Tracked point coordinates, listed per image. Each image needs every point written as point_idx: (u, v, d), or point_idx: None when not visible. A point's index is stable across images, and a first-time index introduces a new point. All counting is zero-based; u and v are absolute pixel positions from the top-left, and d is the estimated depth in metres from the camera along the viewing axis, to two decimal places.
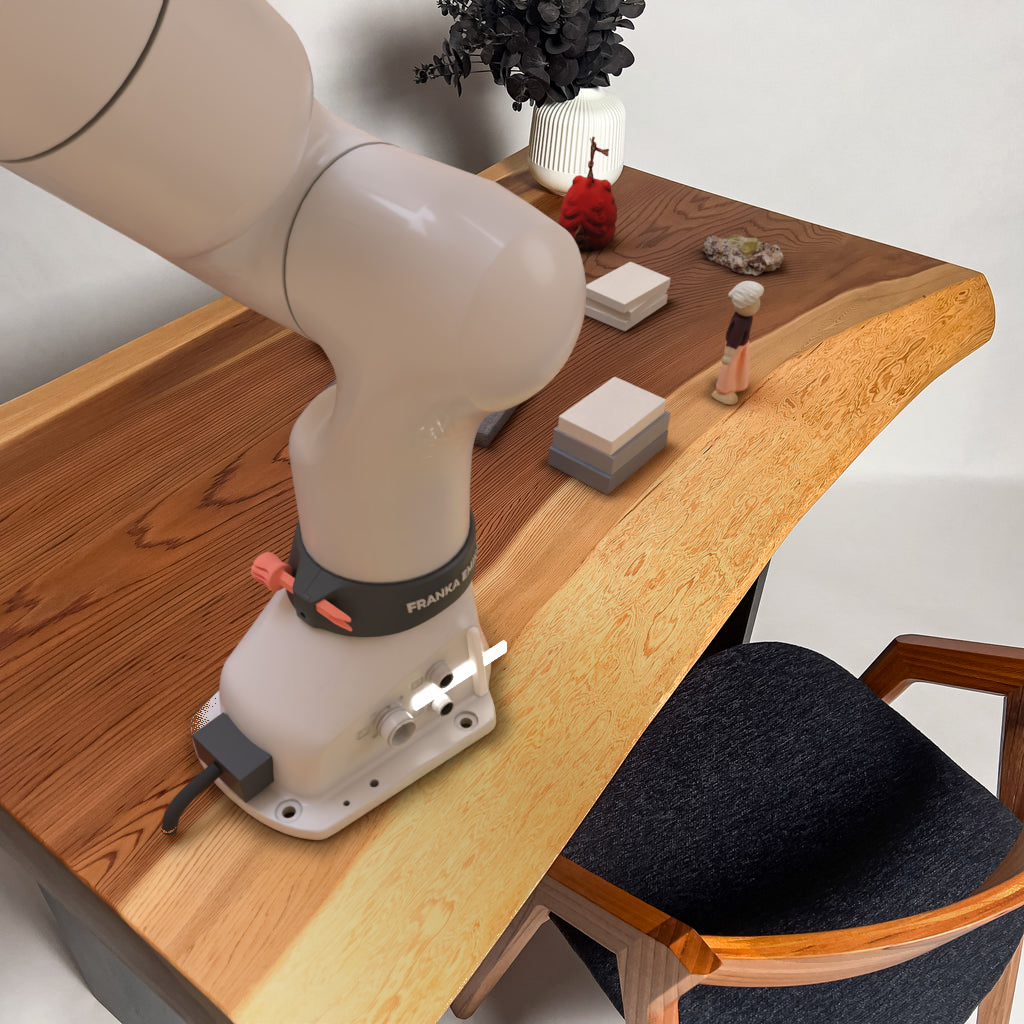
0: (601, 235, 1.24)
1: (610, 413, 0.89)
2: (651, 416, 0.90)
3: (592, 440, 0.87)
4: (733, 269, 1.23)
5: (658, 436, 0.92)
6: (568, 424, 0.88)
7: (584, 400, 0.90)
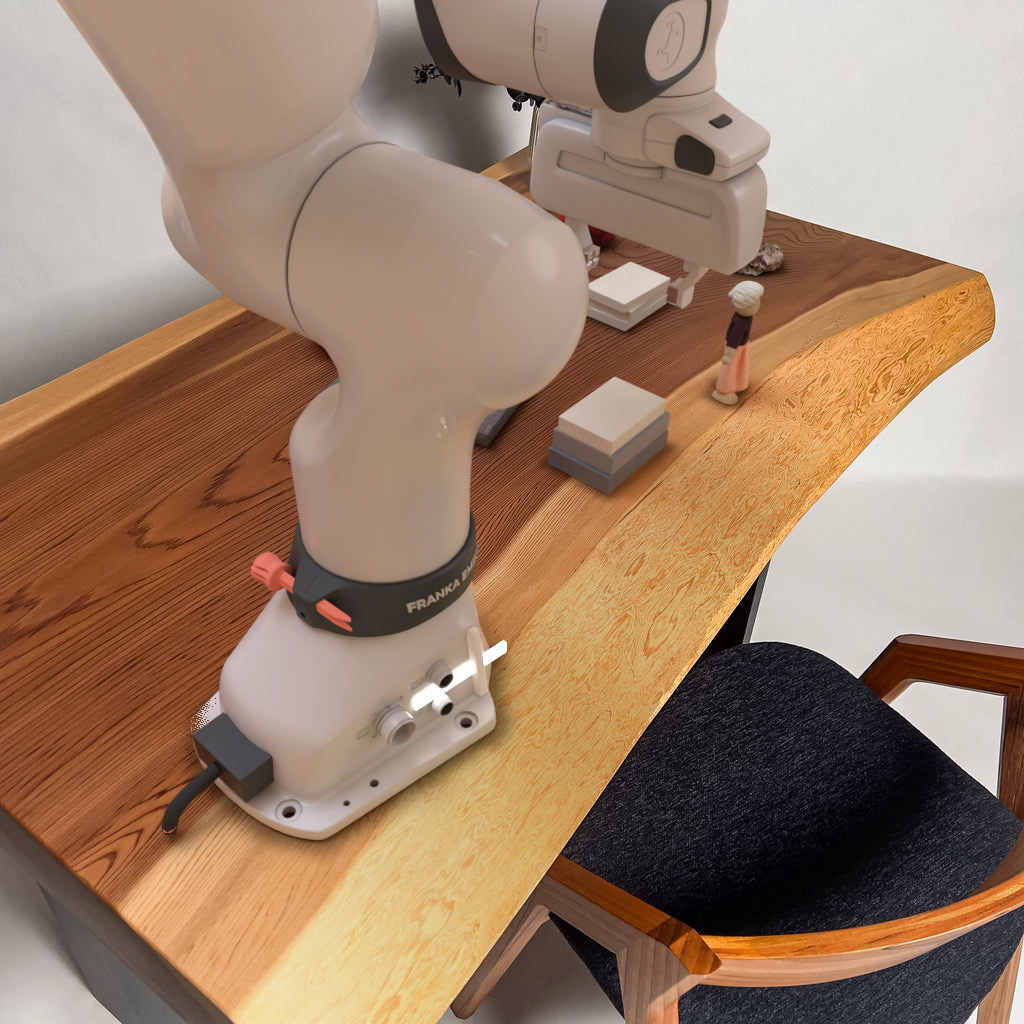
0: (601, 235, 1.24)
1: (610, 413, 0.89)
2: (651, 416, 0.90)
3: (592, 440, 0.87)
4: None
5: (658, 436, 0.92)
6: (568, 424, 0.88)
7: (584, 400, 0.90)
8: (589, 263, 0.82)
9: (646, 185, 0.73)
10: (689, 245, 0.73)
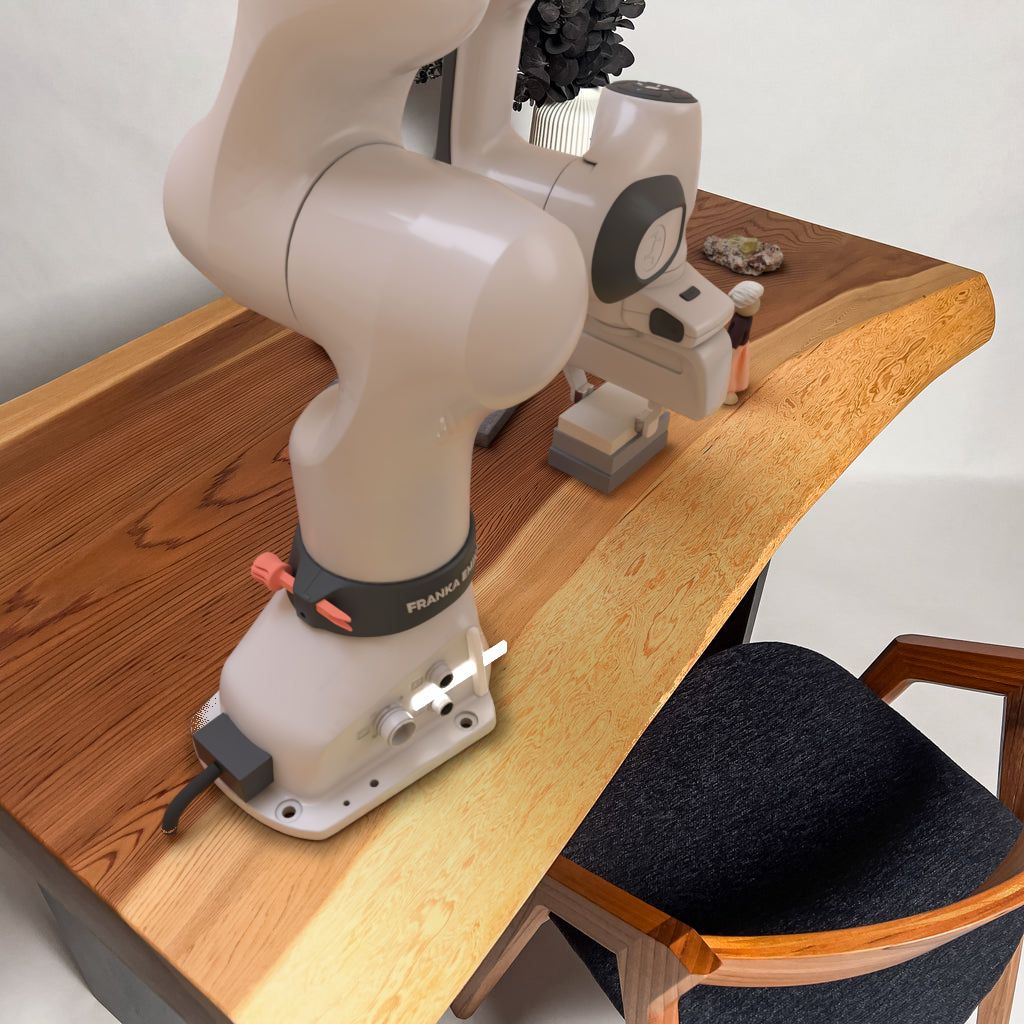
0: None
1: (610, 413, 0.89)
2: None
3: (592, 440, 0.87)
4: (733, 269, 1.23)
5: (658, 436, 0.92)
6: (568, 424, 0.88)
7: (584, 400, 0.90)
8: None
9: (625, 340, 0.83)
10: (663, 394, 0.82)
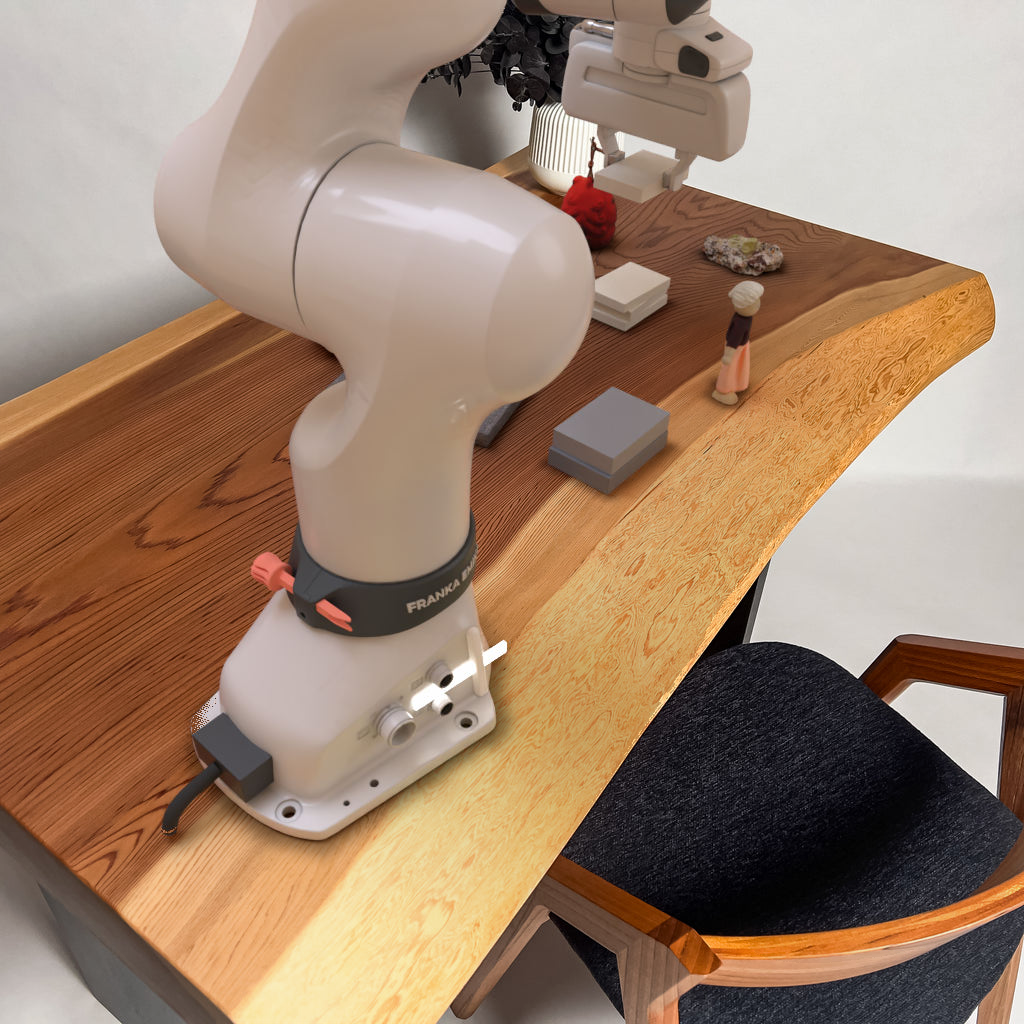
0: (601, 235, 1.24)
1: (640, 171, 0.99)
2: None
3: (624, 191, 0.97)
4: (733, 269, 1.23)
5: (658, 436, 0.92)
6: (603, 179, 0.98)
7: (616, 163, 1.01)
8: None
9: (655, 91, 0.93)
10: (689, 138, 0.93)
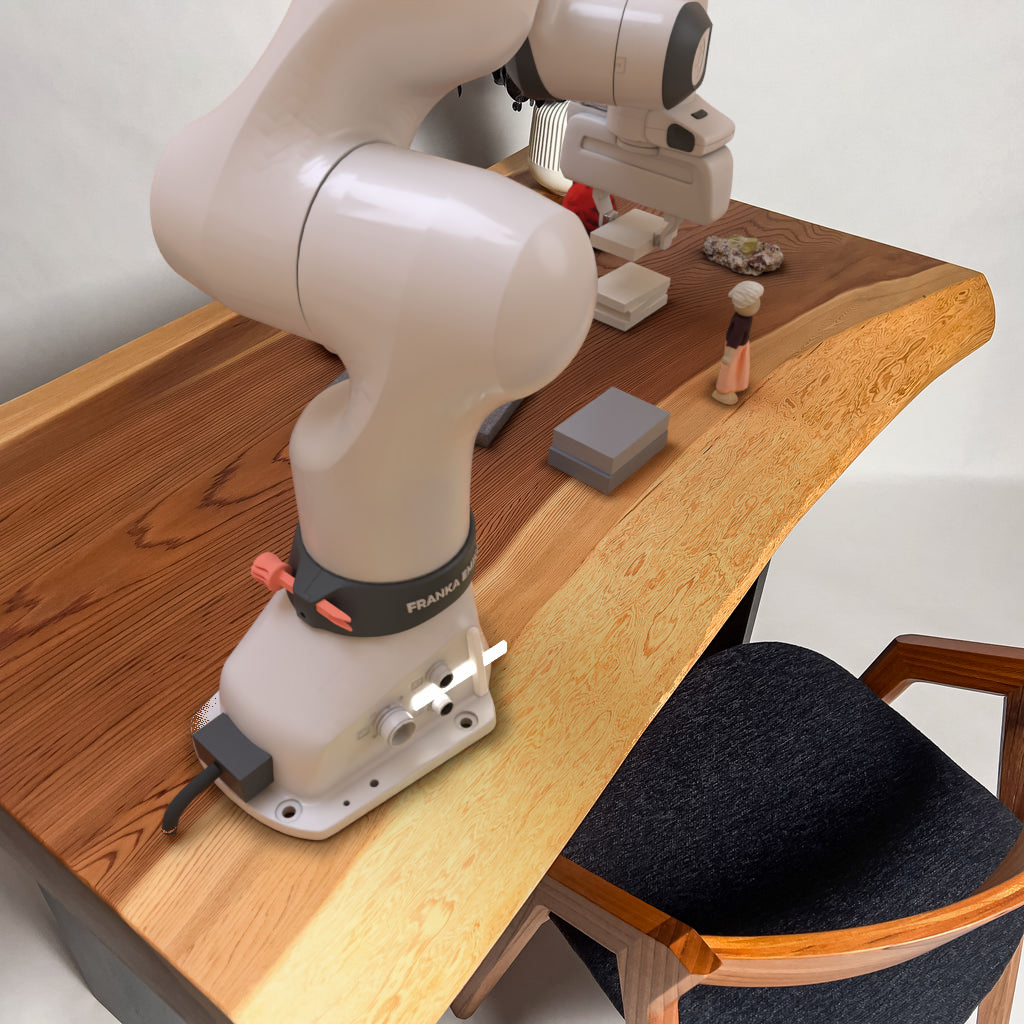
0: None
1: (632, 231, 1.07)
2: None
3: (618, 250, 1.06)
4: (733, 269, 1.23)
5: (658, 436, 0.92)
6: (598, 238, 1.07)
7: (610, 223, 1.09)
8: None
9: (646, 161, 1.01)
10: (677, 204, 1.01)
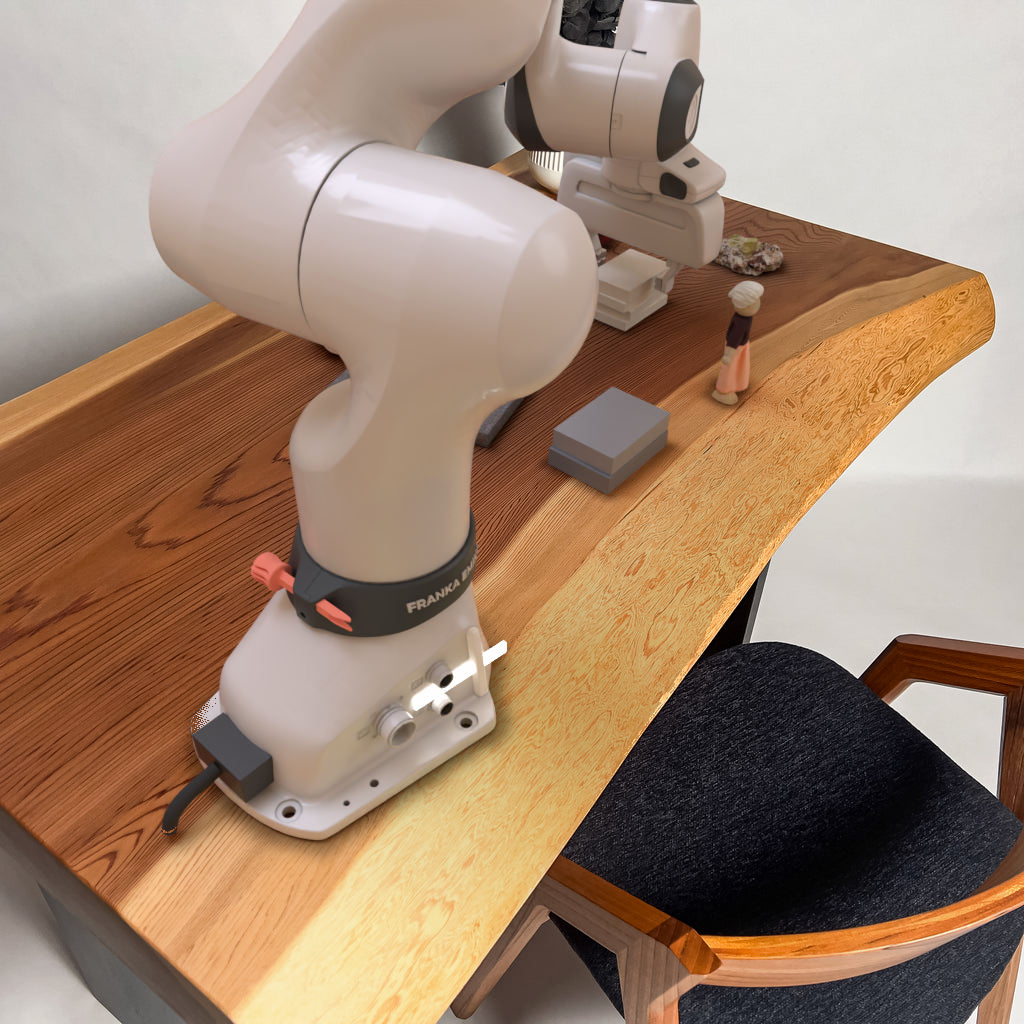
0: (601, 235, 1.24)
1: (627, 272, 1.11)
2: None
3: (613, 291, 1.09)
4: (733, 269, 1.23)
5: (658, 436, 0.92)
6: None
7: (606, 264, 1.12)
8: (598, 261, 1.13)
9: (640, 206, 1.05)
10: (670, 248, 1.04)
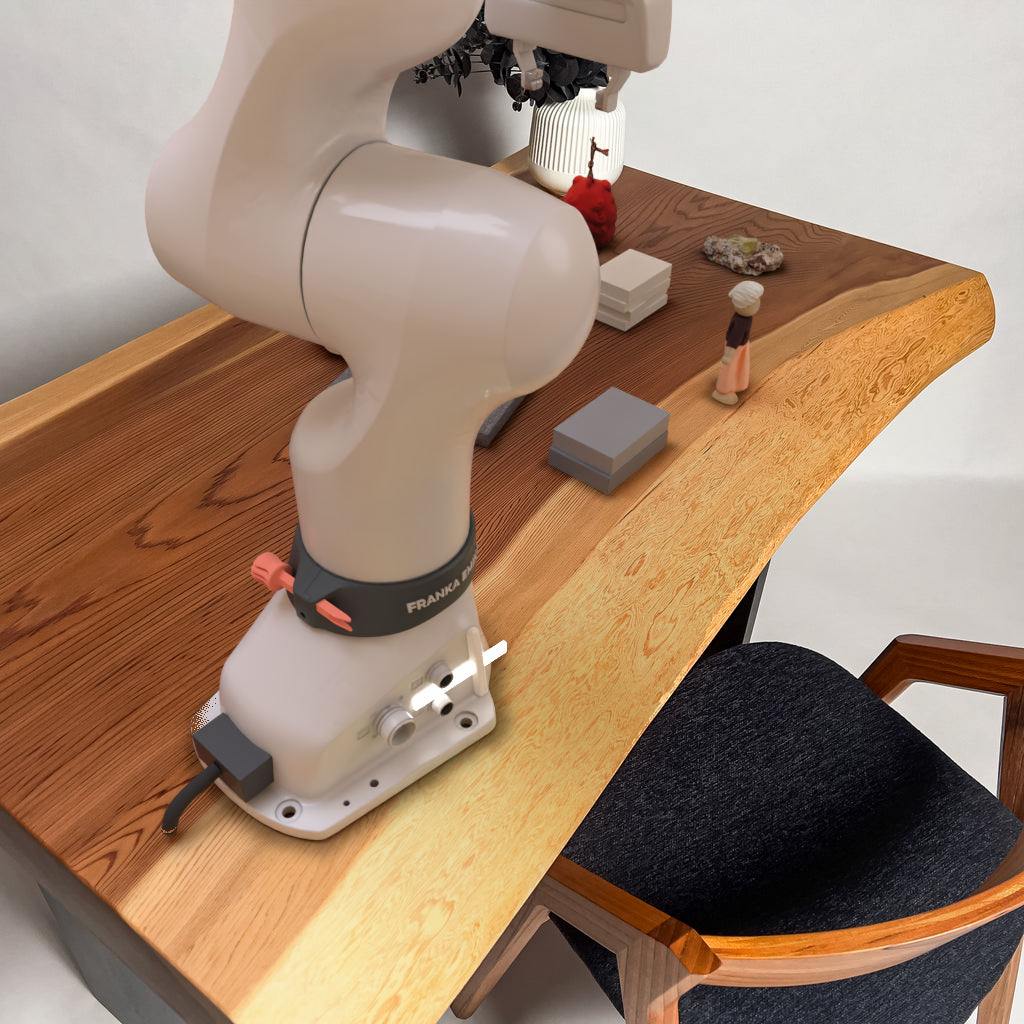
0: (601, 235, 1.24)
1: (627, 272, 1.11)
2: (660, 276, 1.12)
3: (613, 291, 1.09)
4: (733, 269, 1.23)
5: (658, 436, 0.92)
6: None
7: (606, 264, 1.12)
8: (533, 83, 0.99)
9: (575, 1, 0.90)
10: (610, 49, 0.90)
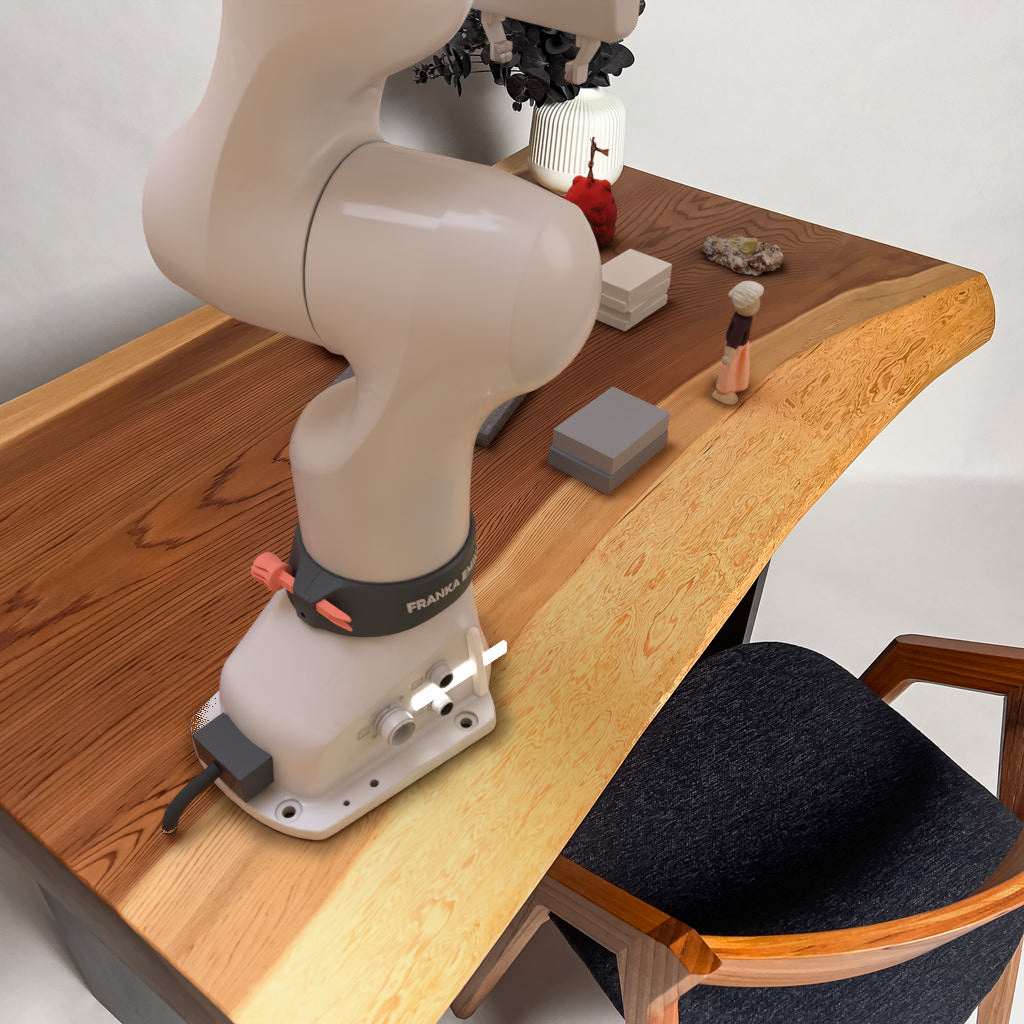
0: (601, 235, 1.24)
1: (627, 272, 1.11)
2: (660, 276, 1.12)
3: (613, 291, 1.09)
4: (733, 269, 1.23)
5: (658, 436, 0.92)
6: None
7: (606, 264, 1.12)
8: (503, 55, 0.97)
9: None
10: (578, 18, 0.88)
